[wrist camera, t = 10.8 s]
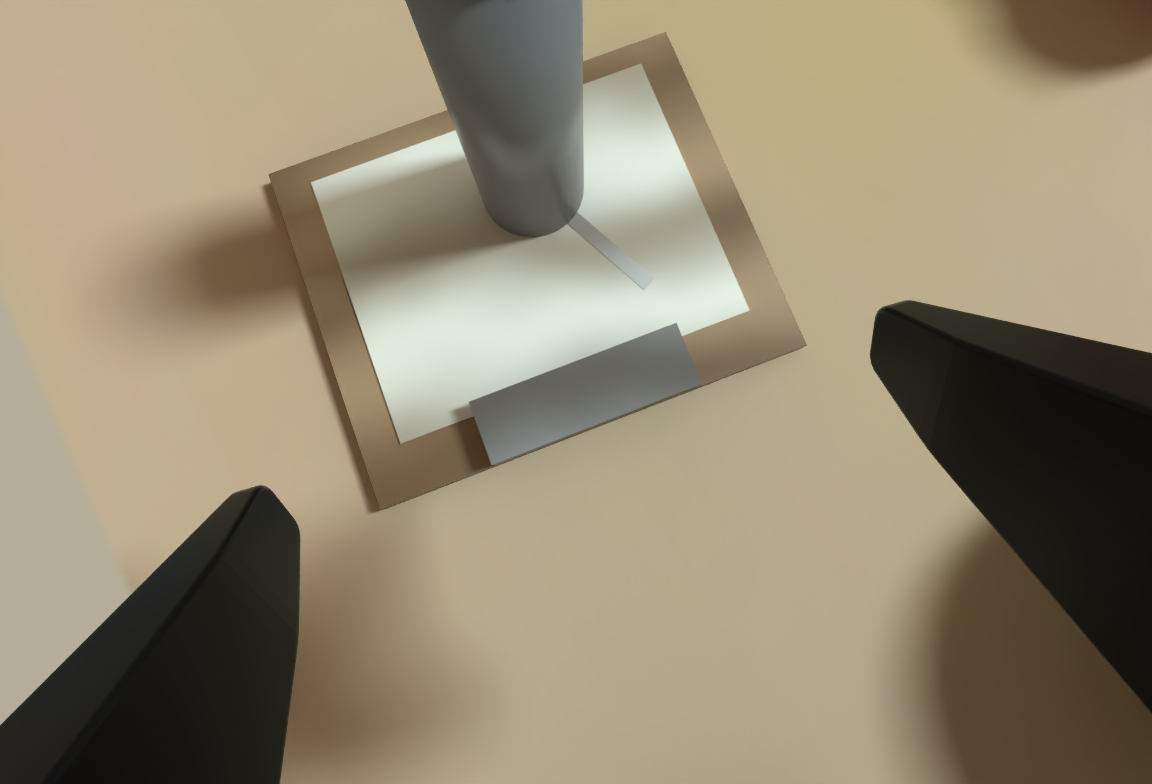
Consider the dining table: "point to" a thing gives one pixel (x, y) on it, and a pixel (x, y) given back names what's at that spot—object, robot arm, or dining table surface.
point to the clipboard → (530, 282)
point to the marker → (513, 102)
